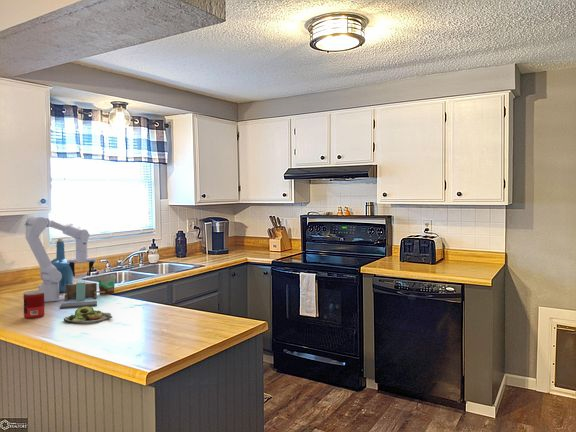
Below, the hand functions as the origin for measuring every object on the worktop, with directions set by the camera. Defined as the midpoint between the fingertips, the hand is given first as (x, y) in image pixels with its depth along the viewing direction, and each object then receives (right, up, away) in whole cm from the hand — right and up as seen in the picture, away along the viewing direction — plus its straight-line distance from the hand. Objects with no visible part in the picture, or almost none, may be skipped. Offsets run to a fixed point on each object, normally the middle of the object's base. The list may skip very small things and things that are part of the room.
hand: (81, 275), depth 251 cm
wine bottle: (-17, -10, +12) cm, 23 cm away
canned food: (+1, -12, -50) cm, 51 cm away
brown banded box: (+4, -11, -9) cm, 15 cm away
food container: (+13, -11, +5) cm, 18 cm away
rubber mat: (+11, -11, -28) cm, 32 cm away
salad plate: (+27, -12, -54) cm, 61 cm away
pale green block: (+4, -11, -11) cm, 16 cm away
